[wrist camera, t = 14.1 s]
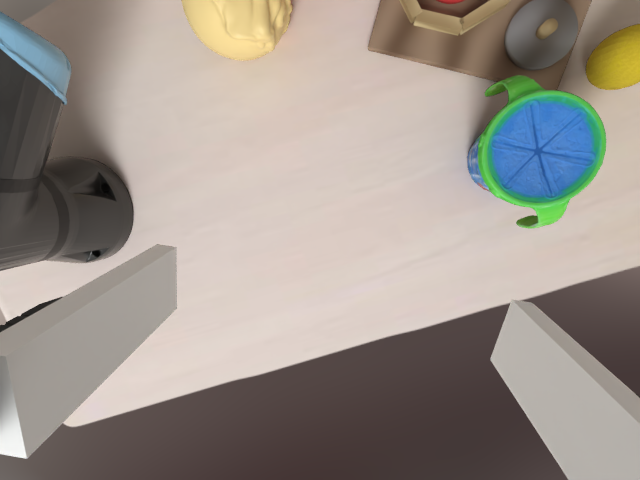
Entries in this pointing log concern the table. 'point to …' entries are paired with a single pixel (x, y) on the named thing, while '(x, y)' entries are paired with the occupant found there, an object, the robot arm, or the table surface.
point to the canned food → (450, 1)
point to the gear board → (483, 36)
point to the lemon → (616, 60)
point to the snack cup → (538, 149)
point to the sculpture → (239, 25)
